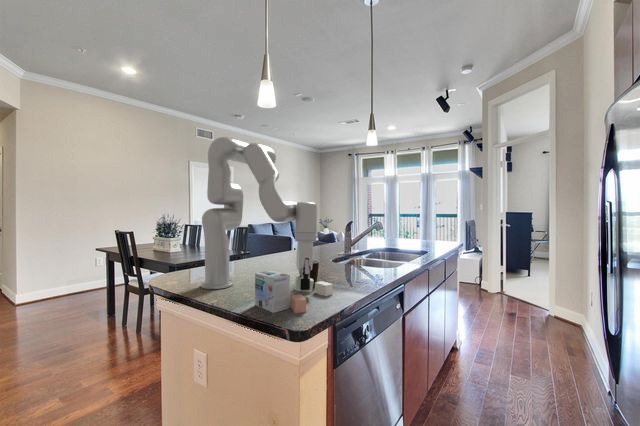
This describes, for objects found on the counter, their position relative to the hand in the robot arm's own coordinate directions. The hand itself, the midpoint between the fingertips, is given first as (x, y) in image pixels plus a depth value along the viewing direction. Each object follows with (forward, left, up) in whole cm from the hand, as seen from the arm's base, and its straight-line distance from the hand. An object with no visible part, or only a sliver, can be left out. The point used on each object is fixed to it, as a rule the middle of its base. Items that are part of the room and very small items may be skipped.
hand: (304, 287), depth 110 cm
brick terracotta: (+12, -3, -4) cm, 13 cm away
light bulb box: (+8, -11, -4) cm, 15 cm away
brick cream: (-4, +8, -4) cm, 9 cm away
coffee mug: (-17, +4, -4) cm, 17 cm away
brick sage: (0, -1, -1) cm, 1 cm away
